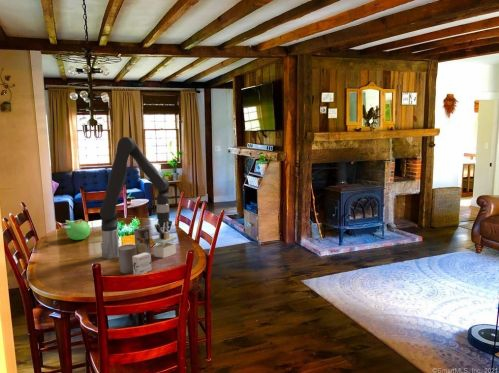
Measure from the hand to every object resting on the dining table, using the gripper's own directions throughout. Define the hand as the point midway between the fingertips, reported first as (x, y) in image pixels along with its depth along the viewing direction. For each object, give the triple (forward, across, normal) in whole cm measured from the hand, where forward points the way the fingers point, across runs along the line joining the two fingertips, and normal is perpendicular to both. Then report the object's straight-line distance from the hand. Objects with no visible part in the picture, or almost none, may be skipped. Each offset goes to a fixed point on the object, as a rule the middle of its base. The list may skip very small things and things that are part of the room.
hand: (164, 238), depth 245 cm
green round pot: (+11, -4, +81) cm, 82 cm away
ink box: (+11, -33, -15) cm, 38 cm away
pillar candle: (+11, -31, -2) cm, 33 cm away
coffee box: (+11, -6, +13) cm, 18 cm away
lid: (+1, 0, 0) cm, 1 cm away
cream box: (+11, 0, 0) cm, 11 cm away
